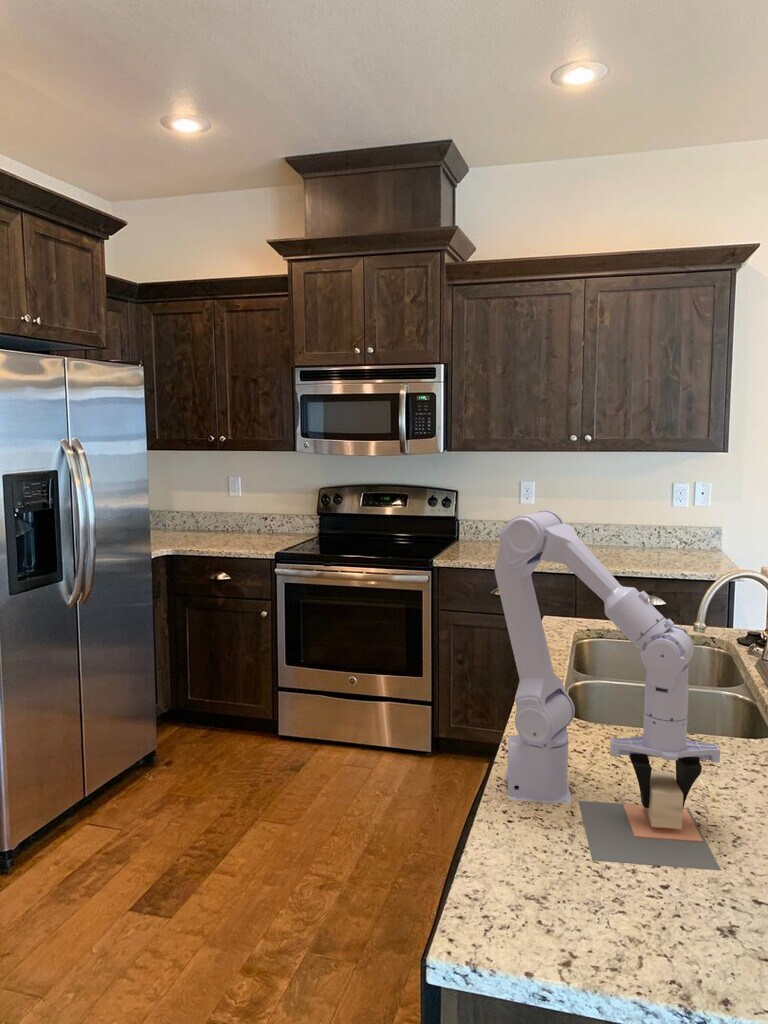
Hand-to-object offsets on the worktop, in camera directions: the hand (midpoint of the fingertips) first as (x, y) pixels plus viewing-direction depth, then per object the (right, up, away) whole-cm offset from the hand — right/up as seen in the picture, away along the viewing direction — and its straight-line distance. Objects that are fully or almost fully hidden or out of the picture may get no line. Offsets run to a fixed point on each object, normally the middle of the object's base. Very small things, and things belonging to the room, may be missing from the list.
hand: (661, 805), depth 107 cm
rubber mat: (-3, -3, -2) cm, 5 cm away
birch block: (0, -2, 0) cm, 2 cm away
